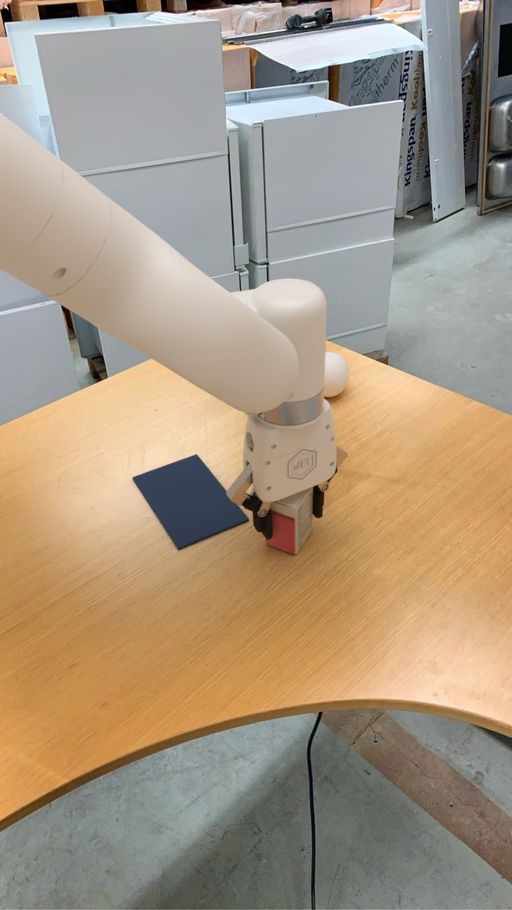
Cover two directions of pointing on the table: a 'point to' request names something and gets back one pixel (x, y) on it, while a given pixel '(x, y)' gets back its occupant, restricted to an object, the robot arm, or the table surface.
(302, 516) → the small box
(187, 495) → the cloth
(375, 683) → the table surface
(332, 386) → the white rounded piece
